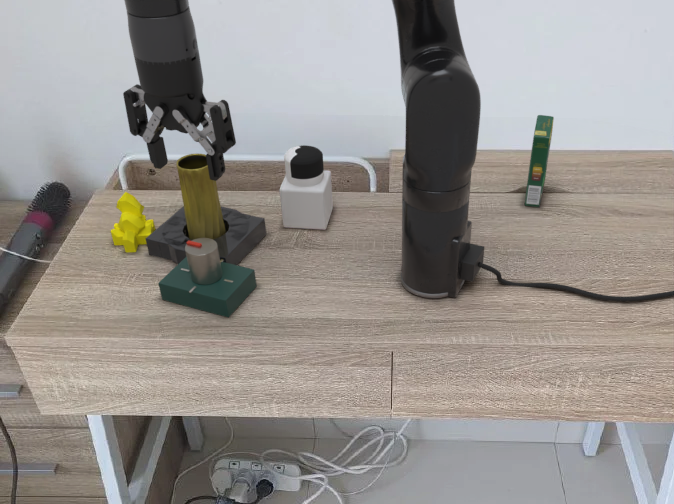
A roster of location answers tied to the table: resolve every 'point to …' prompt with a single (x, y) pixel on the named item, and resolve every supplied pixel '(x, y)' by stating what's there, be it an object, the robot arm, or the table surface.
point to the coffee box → (539, 160)
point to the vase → (200, 198)
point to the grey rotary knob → (203, 261)
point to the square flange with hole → (231, 246)
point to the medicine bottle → (306, 189)
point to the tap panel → (209, 288)
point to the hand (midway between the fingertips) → (189, 171)
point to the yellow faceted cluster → (131, 224)
